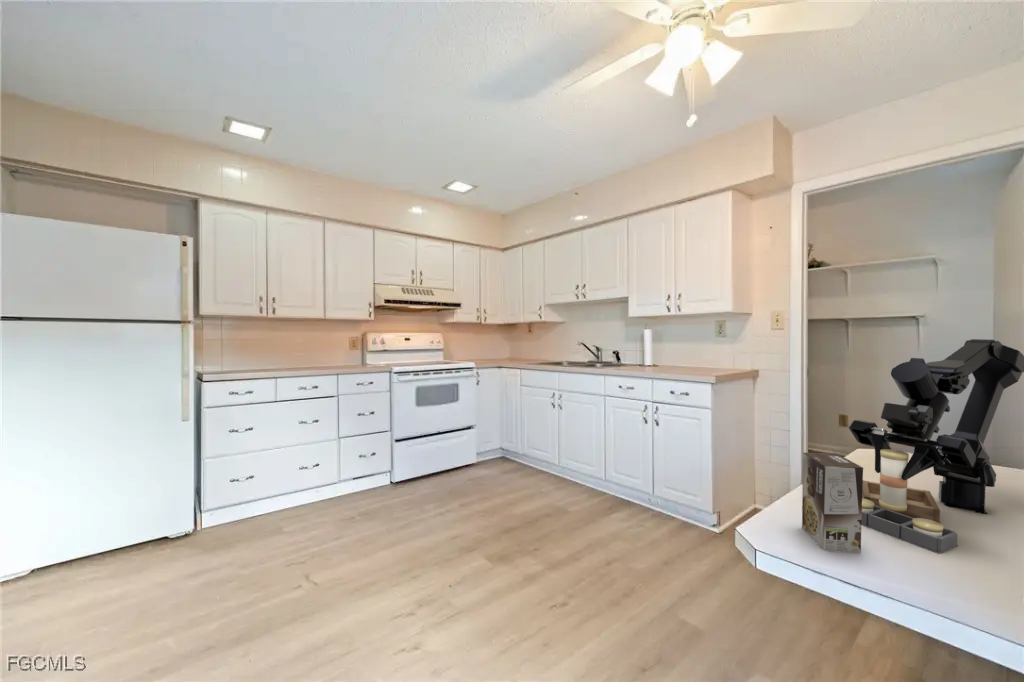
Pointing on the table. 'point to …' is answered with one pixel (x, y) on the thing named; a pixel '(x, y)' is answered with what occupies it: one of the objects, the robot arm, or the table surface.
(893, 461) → the cream capped cylinder
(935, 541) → the grey compartment tray
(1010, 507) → the table surface
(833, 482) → the coffee box
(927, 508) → the walnut tray
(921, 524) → the fuse
